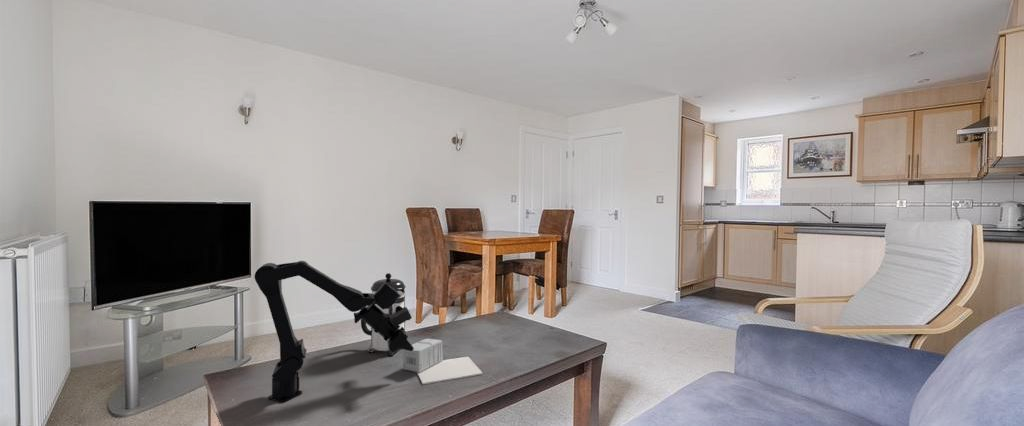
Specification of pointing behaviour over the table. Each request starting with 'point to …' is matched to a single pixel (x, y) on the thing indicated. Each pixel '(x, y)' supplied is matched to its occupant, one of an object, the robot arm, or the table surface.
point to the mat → (449, 370)
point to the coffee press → (376, 338)
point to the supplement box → (423, 355)
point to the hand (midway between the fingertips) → (412, 349)
